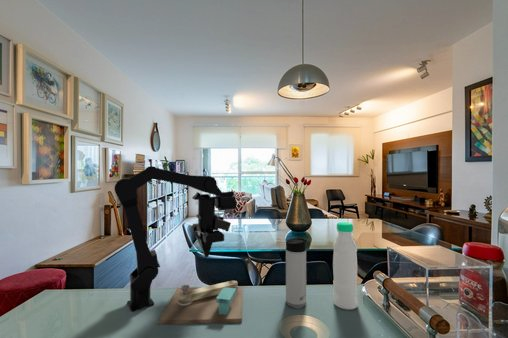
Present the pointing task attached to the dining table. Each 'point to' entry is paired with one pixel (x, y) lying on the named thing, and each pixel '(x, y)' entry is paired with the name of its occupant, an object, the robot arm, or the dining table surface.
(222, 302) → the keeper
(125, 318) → the dining table surface
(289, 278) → the travel mug
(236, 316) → the base board
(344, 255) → the water bottle
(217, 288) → the link
